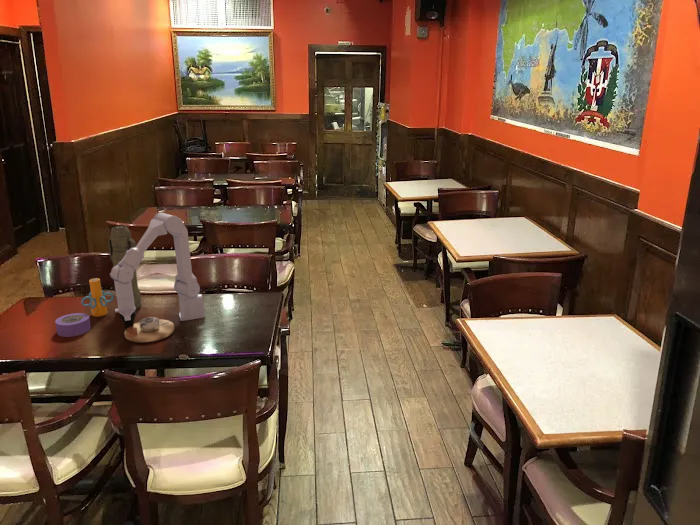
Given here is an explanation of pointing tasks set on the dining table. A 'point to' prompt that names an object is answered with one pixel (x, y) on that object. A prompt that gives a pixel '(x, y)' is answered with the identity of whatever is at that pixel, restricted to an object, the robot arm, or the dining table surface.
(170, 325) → the disc
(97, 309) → the cylinder
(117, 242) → the thermos
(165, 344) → the dining table surface
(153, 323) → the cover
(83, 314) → the tape roll
